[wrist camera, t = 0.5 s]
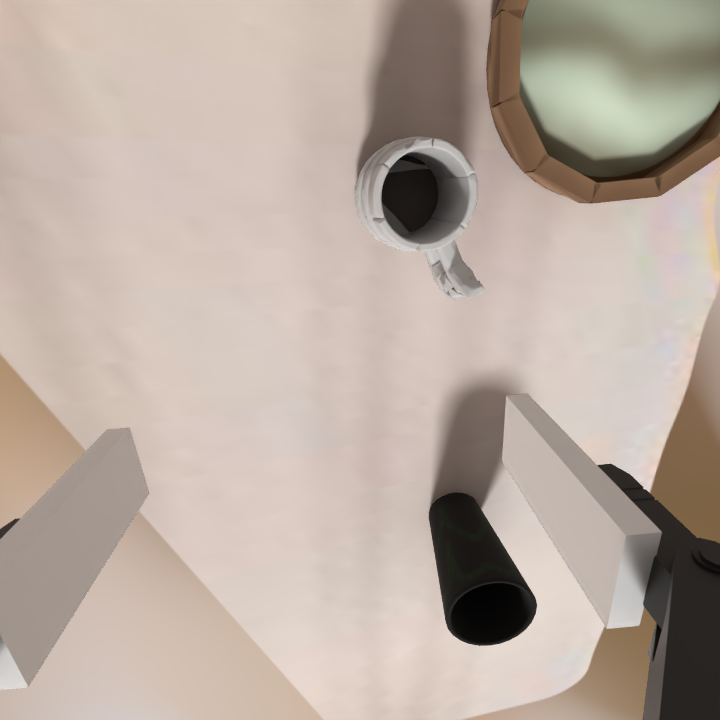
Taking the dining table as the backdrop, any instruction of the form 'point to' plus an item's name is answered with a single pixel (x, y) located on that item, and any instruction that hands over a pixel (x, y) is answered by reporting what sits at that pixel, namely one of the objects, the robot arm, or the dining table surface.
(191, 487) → the dining table surface
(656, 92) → the tray
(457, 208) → the mug
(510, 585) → the cup
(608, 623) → the robot arm
